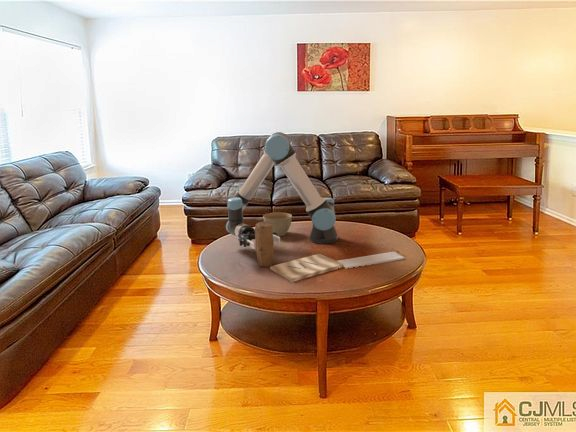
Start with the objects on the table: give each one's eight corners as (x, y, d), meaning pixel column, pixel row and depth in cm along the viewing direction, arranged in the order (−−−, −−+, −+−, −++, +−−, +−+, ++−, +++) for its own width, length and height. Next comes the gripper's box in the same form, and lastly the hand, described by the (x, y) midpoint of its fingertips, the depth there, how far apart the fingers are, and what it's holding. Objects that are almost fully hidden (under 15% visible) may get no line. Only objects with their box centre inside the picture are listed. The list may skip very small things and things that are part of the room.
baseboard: (334, 261, 220) (345, 270, 209) (334, 256, 219) (345, 264, 209) (390, 252, 230) (404, 260, 219) (391, 247, 229) (404, 254, 218)
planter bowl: (286, 239, 254) (285, 220, 251) (259, 237, 259) (258, 218, 257) (296, 231, 268) (295, 213, 266) (270, 229, 274) (269, 211, 271)
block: (275, 266, 215) (273, 225, 210) (259, 268, 213) (257, 226, 208) (270, 258, 225) (268, 219, 220) (255, 260, 223) (252, 220, 218)
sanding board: (319, 256, 226) (319, 253, 226) (343, 267, 211) (343, 264, 211) (270, 269, 211) (270, 266, 211) (292, 281, 197) (292, 278, 196)
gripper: (267, 235, 238) (289, 245, 221) (223, 244, 225) (243, 256, 208) (266, 221, 237) (289, 230, 219) (222, 229, 224) (242, 240, 206)
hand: (267, 243), depth 214 cm, fingers open, 13 cm apart
